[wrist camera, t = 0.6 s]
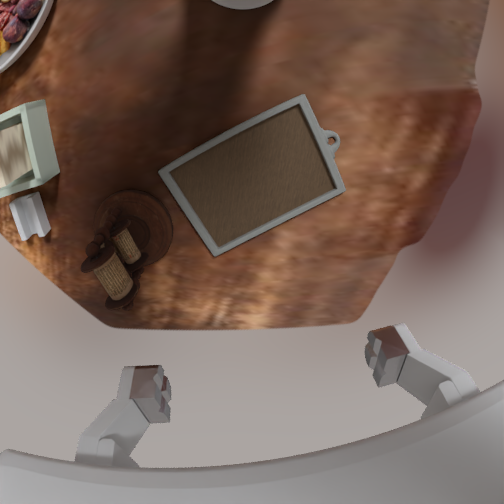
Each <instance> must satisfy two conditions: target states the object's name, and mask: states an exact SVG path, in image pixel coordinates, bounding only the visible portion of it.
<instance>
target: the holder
mask: <svg viewBox="0 0 504 504" xmlns="http://www.w3.org/2000/svg"><path fill="white" fill-rule="evenodd" d="M9 206H10V209H11V212H12V215H13V217H14V220H15V223H16V226H17V229H18V231H19V234H20V237H21V239H22V241H25V240H28V238H29V237H30V236H31V235H32V234H36V233H38V235H39V237H43V236H45V235H46V234H47V233H48V232H49V231H50V229H51V227H50V224H49V221H48V219H47V216H46V213H45V209H44V206H43V203H42V200H41V197H40V193H39V192H35V193H32V194H29V195H25V196H22V197H19V198H16V199H15V200H14V201H12V202H11V203H10V204H9Z"/></svg>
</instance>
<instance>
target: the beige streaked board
mask: <svg viewBox="0 0 504 504" xmlns="http://www.w3.org/2000/svg"><path fill="white" fill-rule="evenodd" d="M32 169H33V168H32V164H31V160H30V156H29V152H28V147H27V143H26V138H25V134H24V129H23V124H22V123H21V124H18V125H16V126H13V127H10V128H7V129H4V130H1V131H0V188H2V187H5V186H7V185H8V184H10V183H11V182H13V181H14V180H16V179H17V178H19V177H20V176H22V175H24V174H25V173H27V172H28V171H30V170H32Z"/></svg>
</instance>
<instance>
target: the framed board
mask: <svg viewBox="0 0 504 504" xmlns="http://www.w3.org/2000/svg"><path fill="white" fill-rule="evenodd" d="M330 137H334V138H335V143H334V144H333V145H331V146H330V145H329V144H327V143H328V138H330ZM339 145H340V138H339V136H338V135H337V134H336V133H335V132H333V131H330V130H325V131H324V130H323V129H322V128H320V126H319V124H318V122H317V119H316V117H315V115H314V113H313V111H312V109H311V106H310V104H309V102H308V100H307V98H306V96H305V95H304V94H302V95H299V96H297V97H295V98H293V99H290V100H288V101H286V102H284V103H282V104H280V105H277V106H275V107H273V108H271V109H269V110H267V111H265V112H263V113H261V114H259V115H257V116H255V117H253V118H251V119H249V120H247V121H245V122H243V123H241V124H239V125H237V126H235V127H233V128H231V129H229V130H228V131H226V132H224V133H222V134H220V135H218V136H216V137H215V138H213V139H211V140H209V141H207V142H206V143H204V144H202V145H200V146H198V147H197V148H195V149H193V150H191V151H190V152H188V153H186V154H185V155H183V156H181V157H179V158H178V159H176V160H174V161H173V162H171V163H169V164H168V165H166V166H164V167H163V168H161V169H160V170H159V171H158V173H159V175H160V176H161V178H162V180H163V181H164V183H165V184H166V186H167V187H168V189H169V190H170V192H171V193H172V195H173V196H174V198H175V199H176V201H177V202H178V204H179V205H180V207H181V208H182V210H183V211H184V213H185V214H186V216H187V217H188V219H189V220H190V222H191V223H192V225H193V226H194V228H195V229H196V231H197V232H198V234H199V235H200V237H201V238H202V240H203V241H204V243H205V244H206V246H207V247H208V248H209V250H210V251H211V253H212V254H213V256H214V257H215V256H218V255H220V254H222V253H224V252H226V251H228V250H229V249H231V248H233V247H235V246H237V245H239V244H241V243H243V242H245V241H247V240H249V239H251V238H253V237H255V236H257V235H259V234H261V233H263V232H265V231H267V230H269V229H271V228H273V227H275V226H277V225H279V224H281V223H283V222H285V221H287V220H289V219H291V218H293V217H295V216H297V215H299V214H301V213H303V212H305V211H307V210H309V209H311V208H313V207H315V206H317V205H319V204H321V203H323V202H325V201H327V200H329V199H331V198H333V197H335V196H337V195H339V194H341V193H343V192H345V191H346V189H345V186H344V183H343V181H342V178H341V176H340V173H339V171H338V168H337V166H336V163H335V161H334V158H335V155H334V153H335V152H336V151H337V149H338V148H339Z"/></svg>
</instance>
